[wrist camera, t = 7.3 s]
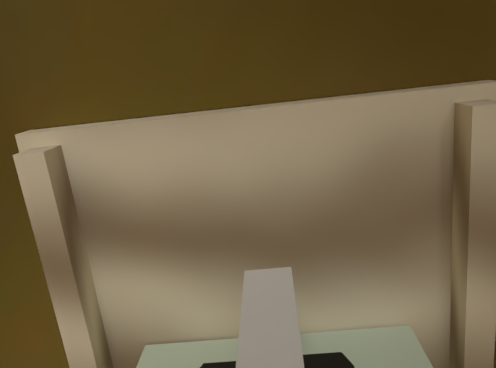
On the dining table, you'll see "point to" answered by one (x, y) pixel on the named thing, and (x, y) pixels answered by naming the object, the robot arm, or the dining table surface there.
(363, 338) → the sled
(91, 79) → the dining table surface
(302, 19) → the dining table surface
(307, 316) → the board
